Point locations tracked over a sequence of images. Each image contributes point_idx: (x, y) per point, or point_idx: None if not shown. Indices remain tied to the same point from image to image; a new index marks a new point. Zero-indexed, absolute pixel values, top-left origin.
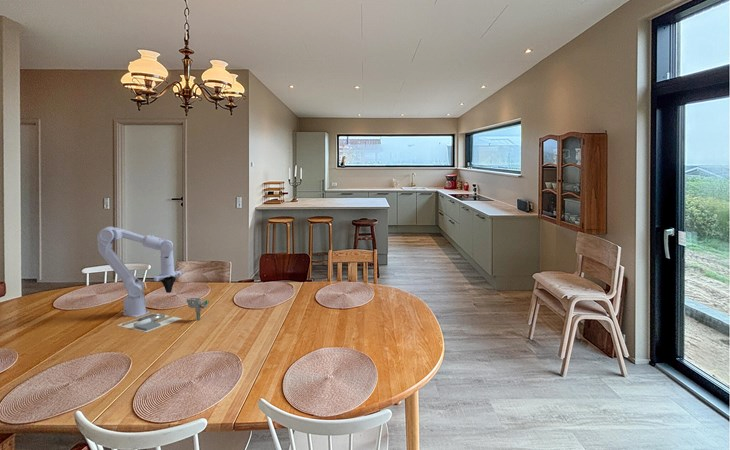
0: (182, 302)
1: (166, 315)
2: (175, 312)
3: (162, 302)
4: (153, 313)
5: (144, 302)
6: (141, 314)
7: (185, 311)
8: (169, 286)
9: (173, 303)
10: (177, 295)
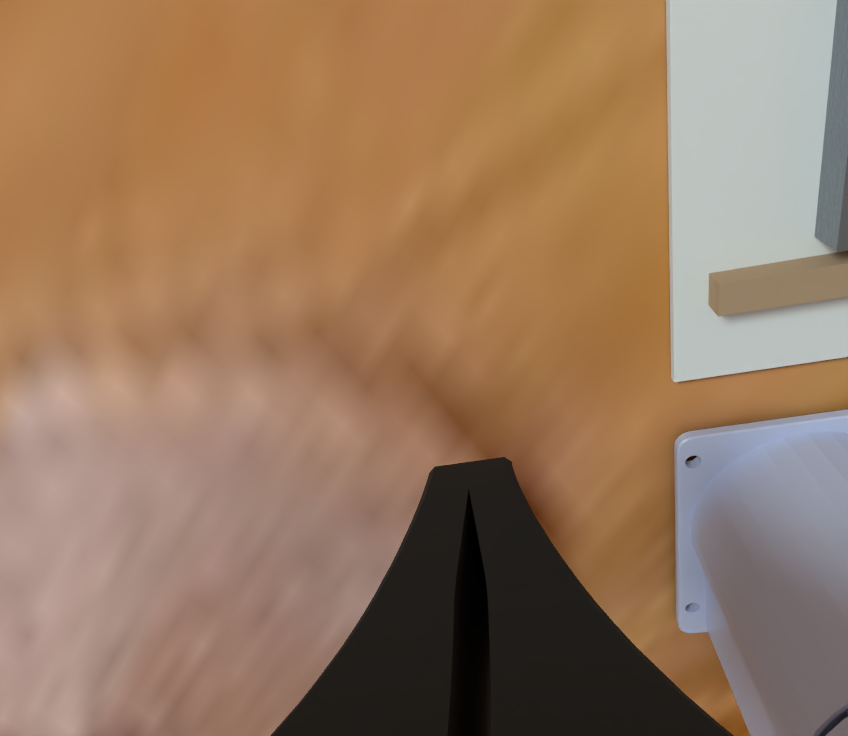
0: (132, 495)
1: (675, 77)
2: (449, 145)
3: (321, 651)
4: (770, 291)
5: (828, 568)
6: (831, 423)
7: (301, 41)
8: (534, 581)
9: (243, 540)
10: (76, 728)
